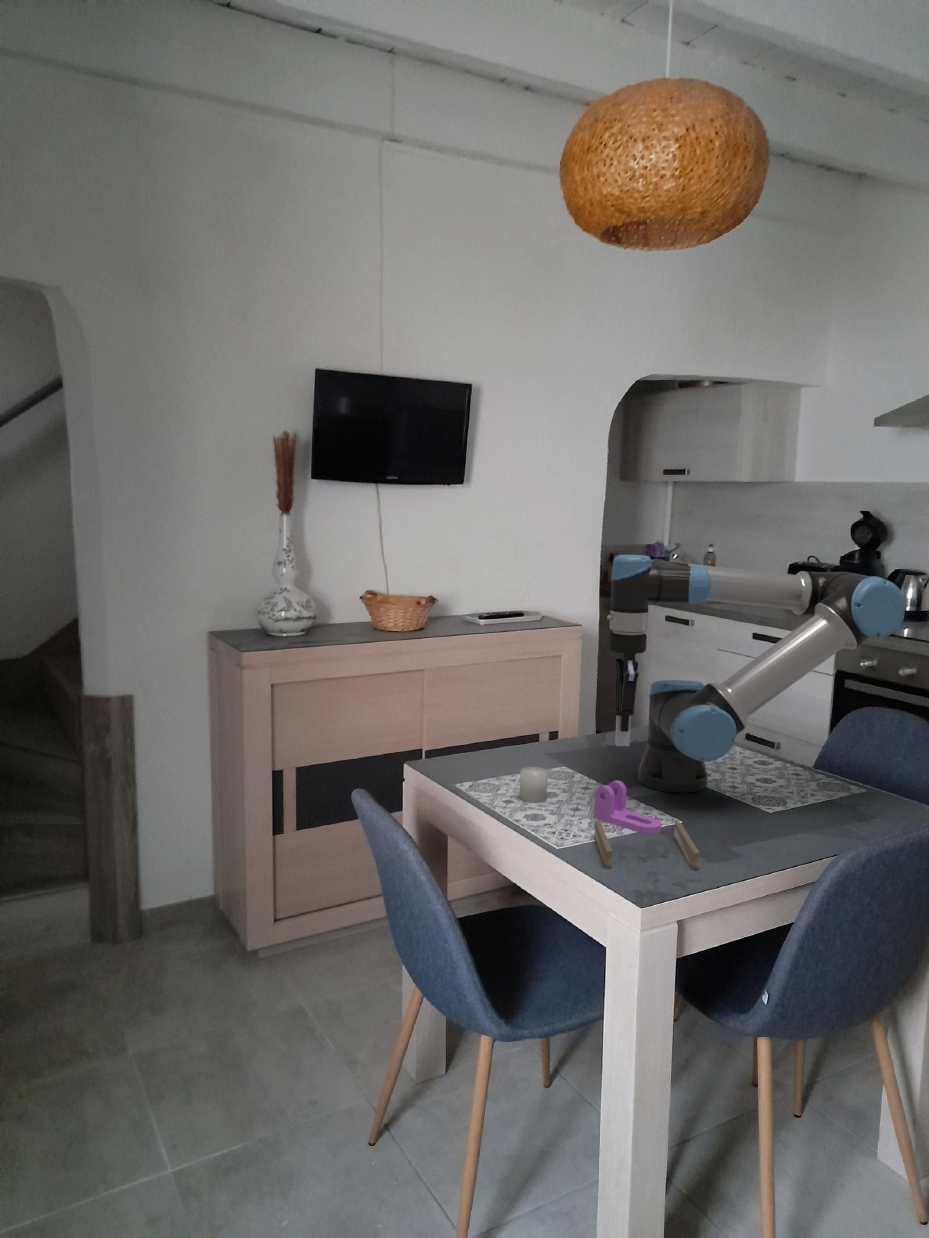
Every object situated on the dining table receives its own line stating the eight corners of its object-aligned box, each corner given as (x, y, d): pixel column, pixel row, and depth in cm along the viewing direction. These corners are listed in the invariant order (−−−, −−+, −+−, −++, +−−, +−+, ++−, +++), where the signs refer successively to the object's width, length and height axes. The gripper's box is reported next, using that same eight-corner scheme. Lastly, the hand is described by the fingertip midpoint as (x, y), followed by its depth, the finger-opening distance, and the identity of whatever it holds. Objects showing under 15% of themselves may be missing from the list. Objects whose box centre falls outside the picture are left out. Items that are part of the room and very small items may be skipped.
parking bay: (679, 837, 166) (680, 822, 166) (698, 869, 152) (699, 852, 152) (594, 836, 166) (594, 820, 166) (605, 867, 152) (606, 851, 152)
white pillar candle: (545, 793, 189) (546, 766, 188) (547, 803, 183) (548, 775, 182) (519, 793, 189) (519, 766, 188) (520, 802, 183) (521, 774, 182)
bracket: (594, 818, 175) (595, 784, 174) (609, 811, 179) (611, 778, 178) (651, 836, 167) (652, 801, 166) (666, 828, 171) (668, 794, 170)
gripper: (604, 626, 184) (599, 735, 188) (614, 636, 171) (608, 754, 175) (640, 627, 184) (634, 736, 188) (653, 637, 171) (646, 755, 175)
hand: (622, 745), depth 181 cm, fingers closed
